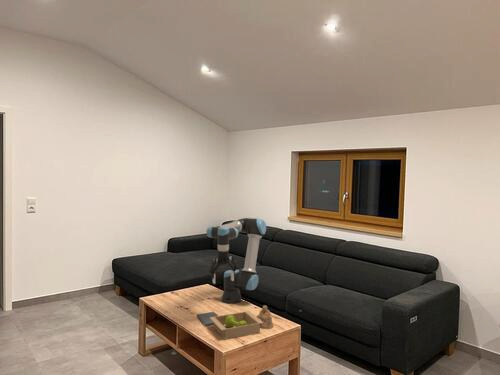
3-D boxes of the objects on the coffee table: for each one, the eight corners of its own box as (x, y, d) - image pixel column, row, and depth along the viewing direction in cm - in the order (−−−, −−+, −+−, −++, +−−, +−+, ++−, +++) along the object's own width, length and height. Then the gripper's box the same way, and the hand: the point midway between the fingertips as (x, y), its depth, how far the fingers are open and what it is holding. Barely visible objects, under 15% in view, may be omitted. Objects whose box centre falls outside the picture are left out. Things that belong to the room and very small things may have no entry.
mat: (213, 313, 271) (213, 311, 271) (223, 323, 254) (223, 321, 254) (196, 316, 266) (196, 314, 266) (205, 326, 249) (205, 324, 249)
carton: (248, 319, 260) (248, 311, 260) (263, 332, 240) (263, 322, 240) (209, 326, 248) (209, 317, 248) (221, 340, 229) (221, 330, 229)
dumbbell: (223, 327, 248) (223, 316, 248) (233, 324, 253) (233, 313, 253) (239, 335, 236) (239, 323, 235) (249, 332, 241) (249, 320, 240)
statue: (276, 305, 257) (273, 306, 248) (274, 328, 254) (272, 329, 244) (258, 304, 260) (254, 304, 251) (256, 326, 257) (253, 327, 247)
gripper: (237, 247, 270) (237, 277, 270) (203, 251, 257) (203, 282, 258) (242, 249, 263) (242, 280, 264) (208, 253, 251) (208, 285, 252)
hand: (223, 281), depth 261 cm, fingers open, 13 cm apart
